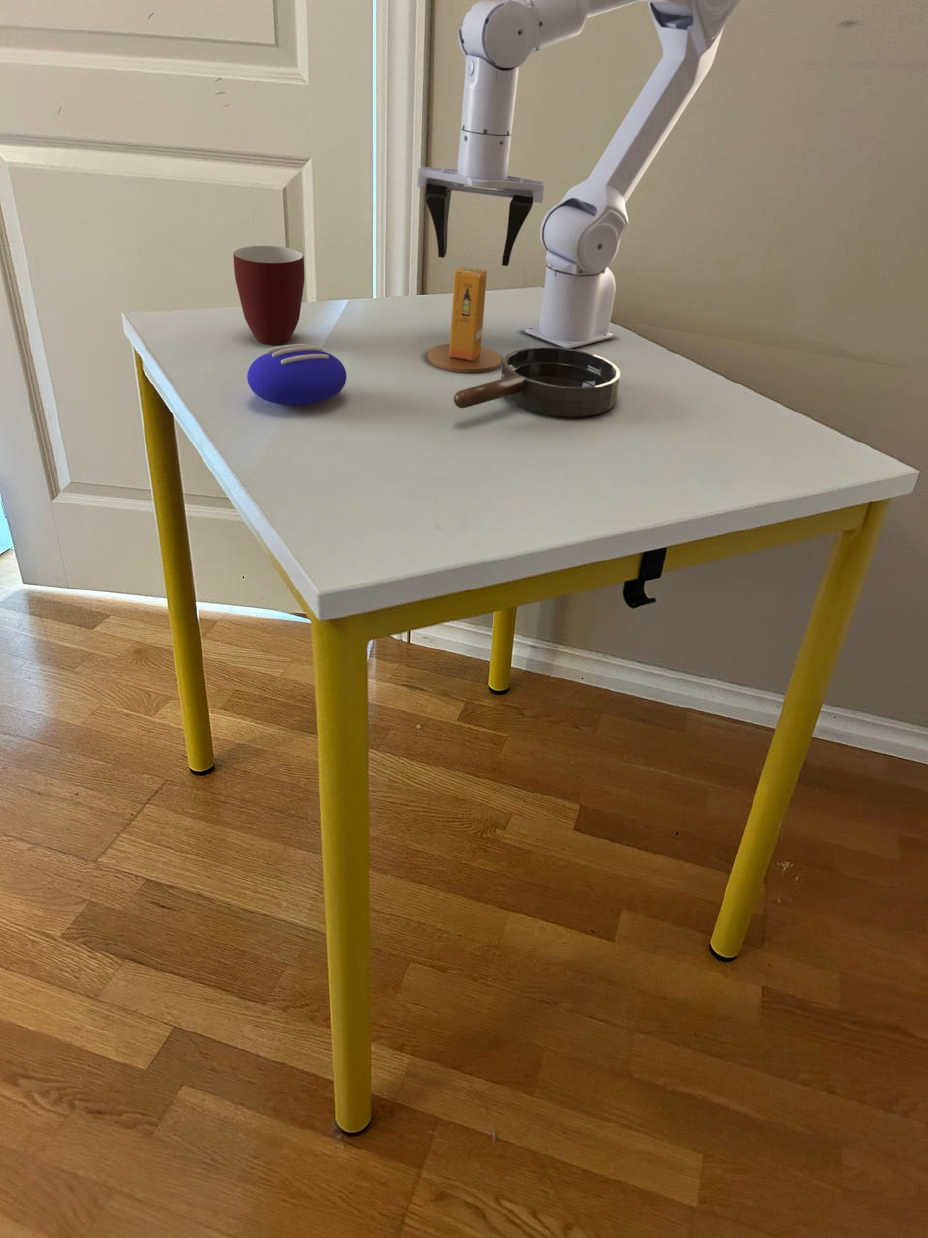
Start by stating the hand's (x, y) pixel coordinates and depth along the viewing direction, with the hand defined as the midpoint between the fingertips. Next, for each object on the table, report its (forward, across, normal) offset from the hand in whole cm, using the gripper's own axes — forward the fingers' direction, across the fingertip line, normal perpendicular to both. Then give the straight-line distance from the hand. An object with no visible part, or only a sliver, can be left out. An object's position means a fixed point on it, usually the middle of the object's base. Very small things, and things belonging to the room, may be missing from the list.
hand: (473, 259), depth 106 cm
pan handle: (+9, +5, -22) cm, 24 cm away
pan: (+10, +12, -14) cm, 21 cm away
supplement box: (+10, 0, -5) cm, 11 cm away
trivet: (+10, 0, -5) cm, 12 cm away
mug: (+11, -23, -5) cm, 26 cm away
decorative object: (+11, -15, -23) cm, 30 cm away
